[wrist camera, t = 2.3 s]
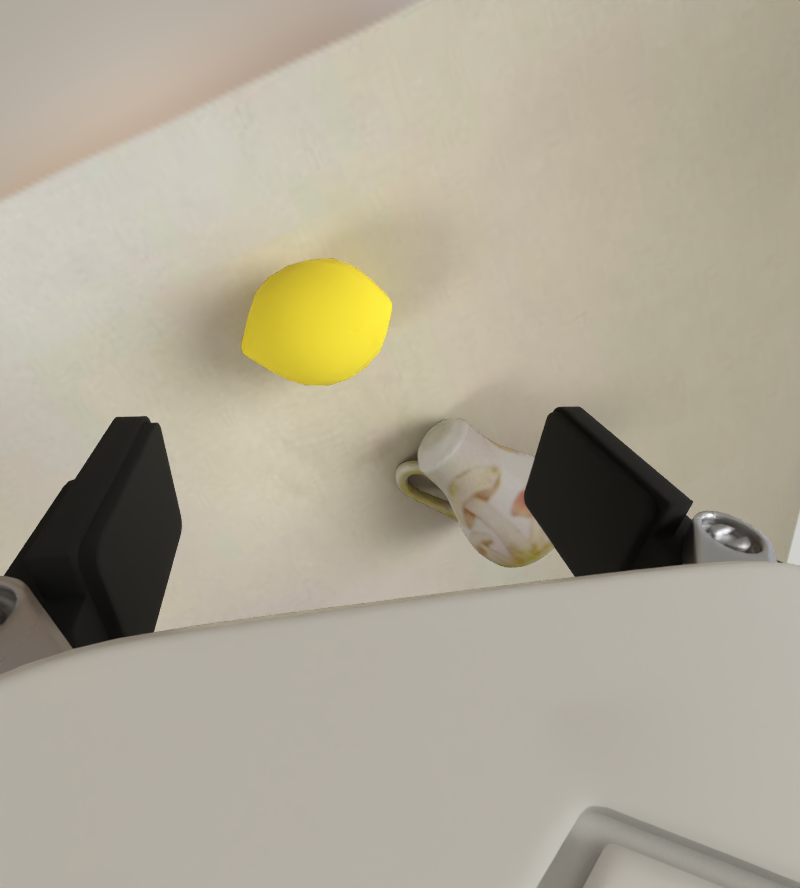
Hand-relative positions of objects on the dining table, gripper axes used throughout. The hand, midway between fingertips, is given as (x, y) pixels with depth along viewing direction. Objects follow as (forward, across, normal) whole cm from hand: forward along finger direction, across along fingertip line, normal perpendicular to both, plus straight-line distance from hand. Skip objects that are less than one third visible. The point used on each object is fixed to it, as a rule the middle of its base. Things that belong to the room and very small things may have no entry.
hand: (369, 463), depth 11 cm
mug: (+14, -9, +10) cm, 20 cm away
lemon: (+14, +1, 0) cm, 14 cm away
